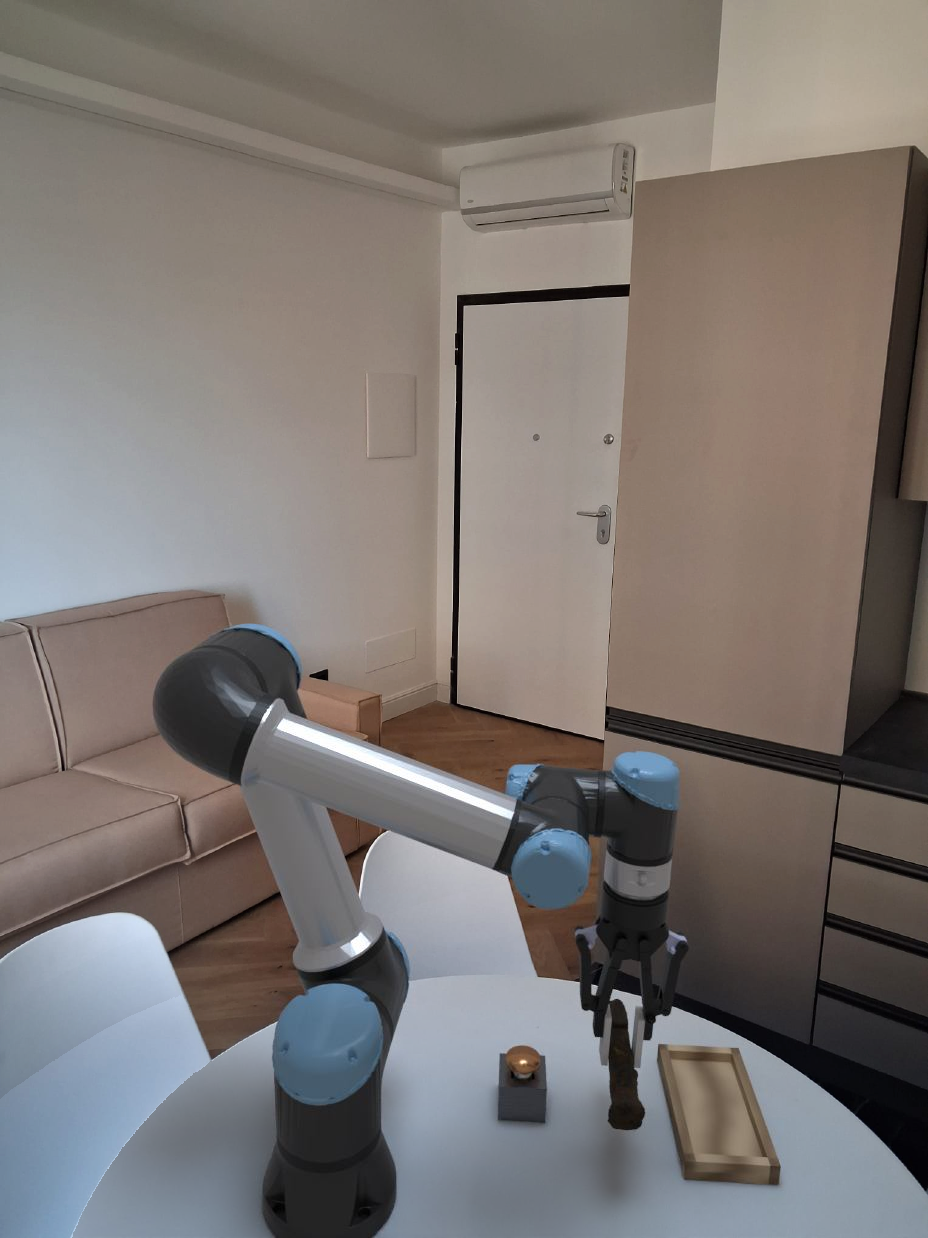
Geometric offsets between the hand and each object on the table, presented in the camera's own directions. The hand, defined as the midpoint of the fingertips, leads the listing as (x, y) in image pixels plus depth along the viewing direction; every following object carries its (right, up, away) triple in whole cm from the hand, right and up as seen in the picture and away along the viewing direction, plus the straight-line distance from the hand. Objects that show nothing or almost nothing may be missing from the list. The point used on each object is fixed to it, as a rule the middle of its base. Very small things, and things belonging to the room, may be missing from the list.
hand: (619, 1058), depth 110 cm
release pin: (-12, -9, +7) cm, 16 cm away
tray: (+13, -10, +6) cm, 18 cm away
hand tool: (-1, -2, 0) cm, 2 cm away
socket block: (-11, -10, +7) cm, 17 cm away
